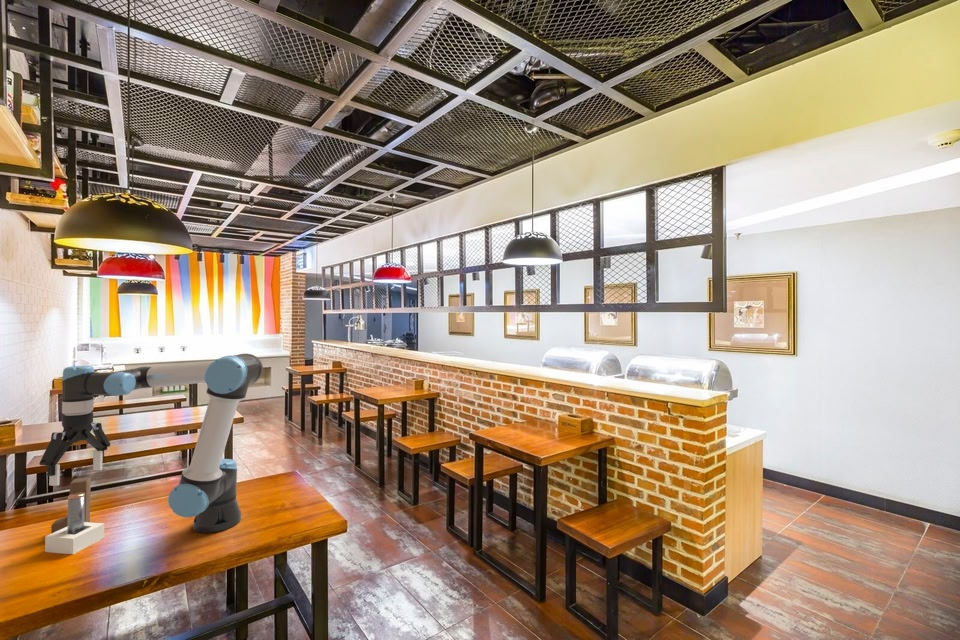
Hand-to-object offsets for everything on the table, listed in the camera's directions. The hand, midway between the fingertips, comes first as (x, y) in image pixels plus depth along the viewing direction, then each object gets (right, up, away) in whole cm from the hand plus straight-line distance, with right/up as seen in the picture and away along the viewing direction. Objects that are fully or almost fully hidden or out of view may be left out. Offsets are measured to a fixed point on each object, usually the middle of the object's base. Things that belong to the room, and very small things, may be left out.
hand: (77, 477), depth 139 cm
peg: (-1, -22, 0) cm, 22 cm away
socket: (-1, -22, 0) cm, 22 cm away
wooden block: (-10, -22, +8) cm, 26 cm away
